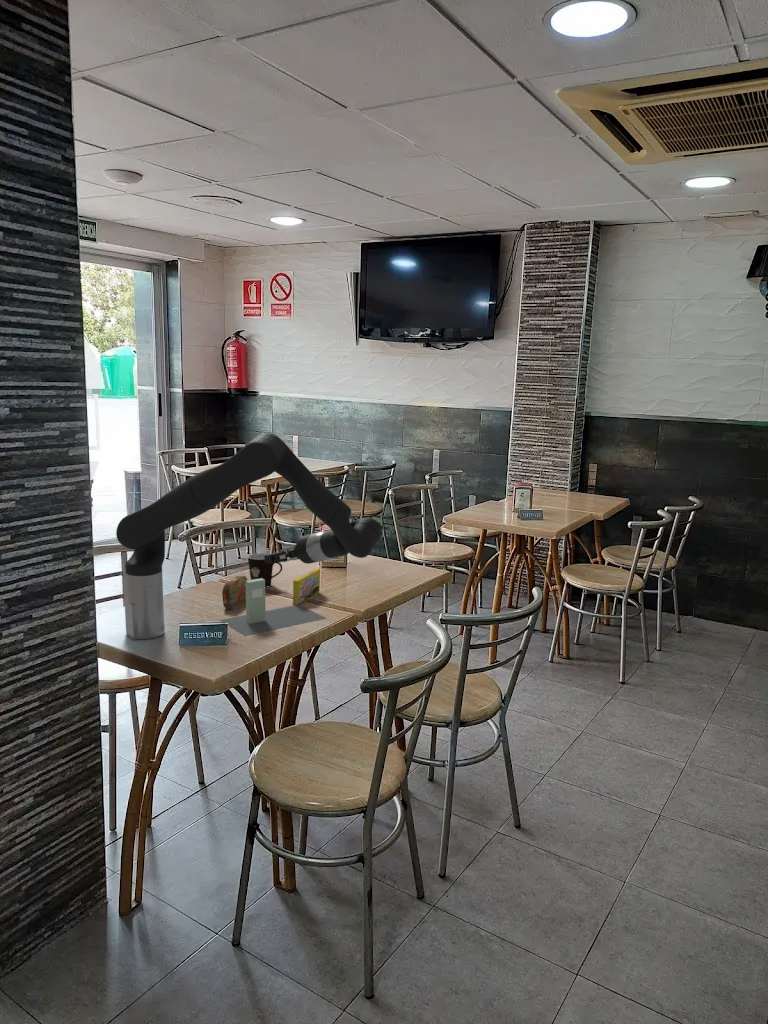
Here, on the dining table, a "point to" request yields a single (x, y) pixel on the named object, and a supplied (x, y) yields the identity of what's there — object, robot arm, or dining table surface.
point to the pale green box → (255, 601)
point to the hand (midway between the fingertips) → (277, 556)
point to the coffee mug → (261, 568)
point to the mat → (274, 620)
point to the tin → (234, 592)
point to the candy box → (306, 586)
